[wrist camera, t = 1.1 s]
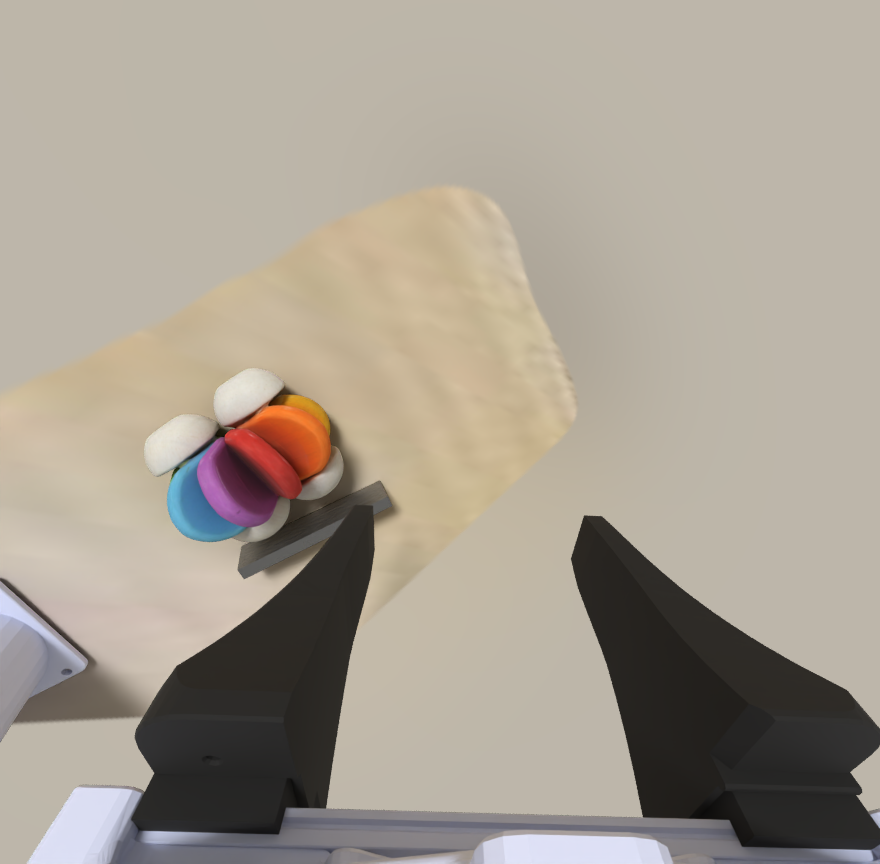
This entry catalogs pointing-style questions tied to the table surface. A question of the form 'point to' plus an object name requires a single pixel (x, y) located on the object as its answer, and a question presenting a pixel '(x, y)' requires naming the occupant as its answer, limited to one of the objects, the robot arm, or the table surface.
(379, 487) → the rail
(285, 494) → the rainbow disc baby rattle
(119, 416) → the table surface
